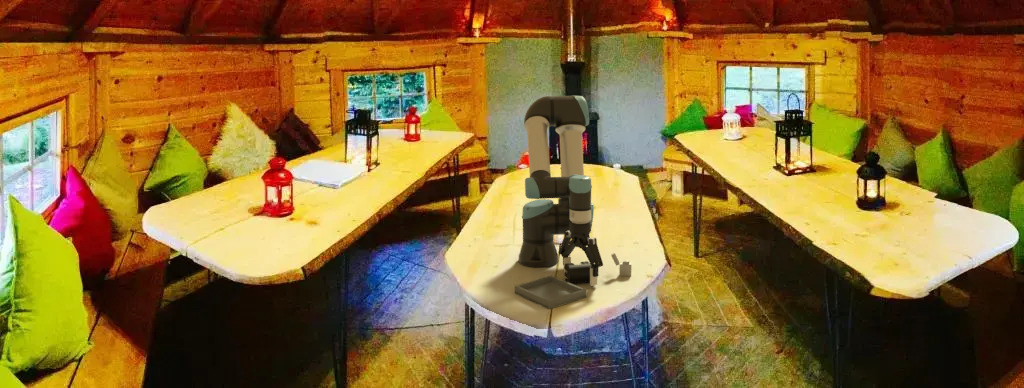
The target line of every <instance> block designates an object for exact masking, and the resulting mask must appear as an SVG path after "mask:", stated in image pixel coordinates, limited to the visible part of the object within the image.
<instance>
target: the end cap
mask: <svg viewBox="0 0 1024 388" xmlns="http://www.w3.org/2000/svg"><path fill="white" fill-rule="evenodd" d="M590 267H592V266H591V264H590V262H589V260H588V261H586V260H585V261H580V263H579V264H575V263H573V262H571V263H567V264H565V266H564V265H563V270H564V269H565V270H566V271H567V273H566V272H565V273H564V272H563V275H564V274H565V276H564V277H565V278H564V281H566V282H569V283H571V284H574V285H576V284H583V283H590Z"/></svg>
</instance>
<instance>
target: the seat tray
mask: <svg viewBox="0 0 1024 388" xmlns="http://www.w3.org/2000/svg"><path fill="white" fill-rule="evenodd" d="M587 293H588V291H587V289H585V288H583V287H580V286H579V285H576V284H571V283H569V282H566V281H565V279H564V280H563V279H561V278H559V277H556V276H554V275H548V276H544V277H542V278H537V279H535V280H534V279H533V280H531V281H527V282H524V283H521V284H517V285H514V294H515V295H518V296H519V297H523V298H524V299H526V300H529V301H531V302H532V303H535V304H537V305H539V306H540V307H541V306H542V307H543V308H546V309H548V310H552V309H553V308H557V307H560V306H563V305H567V304H570V303H572V302H573V303H574V302H576V301H579V300H581V299H585V298H587Z"/></svg>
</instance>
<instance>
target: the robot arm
mask: <svg viewBox="0 0 1024 388" xmlns="http://www.w3.org/2000/svg"><path fill="white" fill-rule="evenodd" d="M589 115H590V114H589V107H588V103H587V100H586V98H585V97H584V96H583V95H573V94H572V95H552V96H550V95H546V96H545V95H544V96H542V97H540V98H538V99H536V100H535V101H534V102H533V103H531V105H530V106H529V107H528V108H527V111H526V112H525V115H524V119H523V120H524V121H523V126H524V130H525V131H526V135H527V148H528V152H527V153H528V166H529V167H528V168H529V177H526V178H525V180H524V192H525V193H524V194H525V198H527V199H531V201H529V202H527V203H525V204H524V205H523V206H522V216H521V218H522V243H521V247H520V251H519V254H518V263H519V264H520V265H522V266H524V267H530V268H546V267H547V268H548V267H551V266H554V265H556V264H558V263H559V255H561V257H562V265H563V267H564V266H565V264H567V263H572V257H571V253H572V252H573V251H574V249H575V248H579V249H581V251H583V252H584V254H585V255H586V258H587V260H588V262H589V263H590V264H591V266H592V267H590V282H589V286H591V287H593V286H596V285H598V276H599V268H600V267H603V266H604V263H603V260H602V257H601V254H600V250H599V247H598V242H597V237H593V238H592V237H591V236H590V235H591V234H590V233H591V232H592V228H593V222H594V212H595V211H594V209H595V208H594V207H595V206H594V205H595V204H594V203H593V202H592V188H593V186H592V178H591V177H590V176H589V175H585V173H584V152H583V151H584V150H583V133H584V132H585V131H586V126H588V125H590V116H589ZM550 127H555V129H554V130H555V132H556V133H557V134H558V135H559V150H560V151H559V152H560V172H561V173H560V175H561V176H552V175H551V163H550V152H549V151H550V148H549V137H548V130H549V128H550ZM552 199H557V201H558V203H555V202H554V201H553V200H552ZM554 235H557V236H558V235H559V236H560V235H564V236H563V239H562V242H561V244H560V247H559V249H558V251H557V248H556V245H555V241H554ZM565 272H566V273H567V271H566V270H565V269H564V268H563V276H564V277H565V274H564V273H565Z"/></svg>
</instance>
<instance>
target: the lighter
mask: <svg viewBox="0 0 1024 388" xmlns="http://www.w3.org/2000/svg"><path fill="white" fill-rule="evenodd" d="M610 256H611V258H612V260H613V262H614V264H615V266H619V267H618V269H619V273H618V275H619V276H620V277H632V262H630V261H629V260H622V262H620V261H619V259H618V256H617V254H616V253H615V252H614V253H612V254H611V255H610Z"/></svg>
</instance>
